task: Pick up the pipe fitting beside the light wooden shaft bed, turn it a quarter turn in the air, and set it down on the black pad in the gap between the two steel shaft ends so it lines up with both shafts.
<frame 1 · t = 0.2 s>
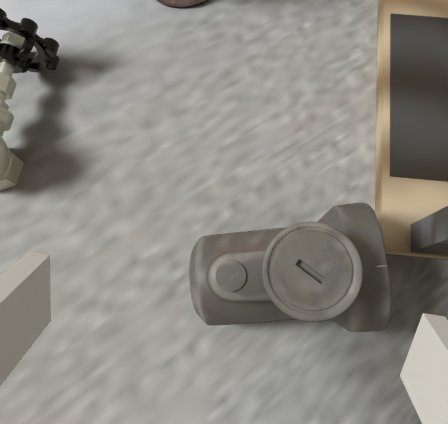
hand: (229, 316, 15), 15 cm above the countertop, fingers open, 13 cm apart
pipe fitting: (277, 277, 31), on the countertop
valve: (16, 127, 34), on the countertop
shaft bed: (439, 106, 33), on the countertop
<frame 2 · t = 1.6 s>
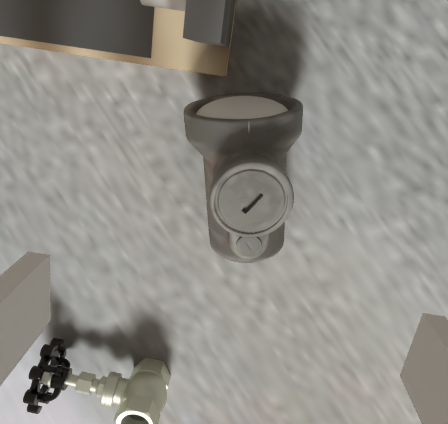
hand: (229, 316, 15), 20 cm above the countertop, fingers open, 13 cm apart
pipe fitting: (245, 168, 34), on the countertop
valve: (115, 361, 42), on the countertop
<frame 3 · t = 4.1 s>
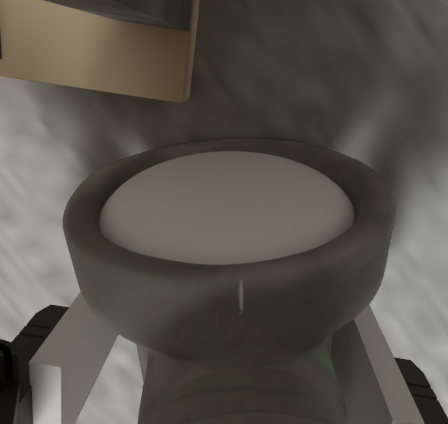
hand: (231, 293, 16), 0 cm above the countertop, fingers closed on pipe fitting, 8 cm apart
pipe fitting: (236, 285, 17), on the countertop, touching gripper
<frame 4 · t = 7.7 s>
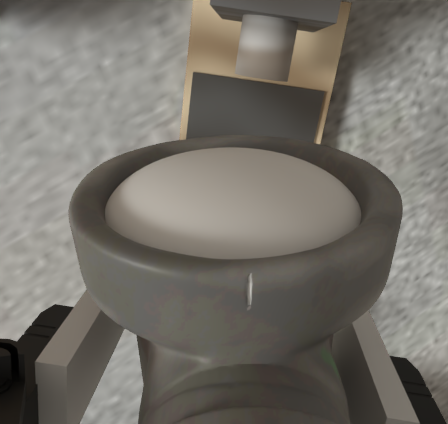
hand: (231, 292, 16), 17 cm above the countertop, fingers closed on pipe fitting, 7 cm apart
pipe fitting: (237, 283, 16), point 17 cm above the countertop, touching gripper
shaft bed: (243, 174, 32), on the countertop
when the fingers open (3 cm above the countertop, at t = 10.7 s): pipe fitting drops 1 cm, resting on shaft bed.
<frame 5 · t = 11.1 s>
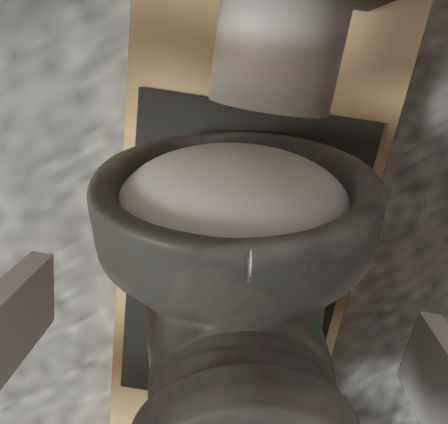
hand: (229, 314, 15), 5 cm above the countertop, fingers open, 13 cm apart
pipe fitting: (235, 271, 18), point 1 cm above the countertop, touching shaft bed
shaft bed: (235, 256, 19), on the countertop
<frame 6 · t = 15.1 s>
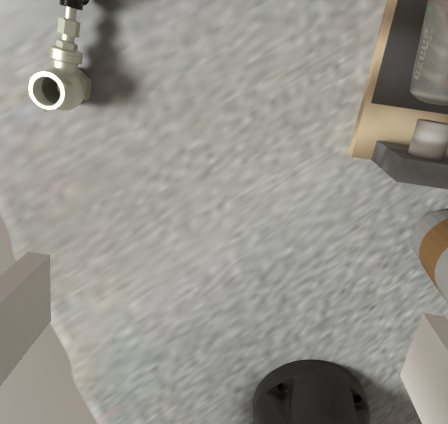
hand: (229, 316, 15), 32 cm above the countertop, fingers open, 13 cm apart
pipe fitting: (440, 32, 38), point 1 cm above the countertop, touching shaft bed
coffee cup: (437, 233, 47), on the countertop
valve: (81, 47, 42), on the countertop
shaft bed: (433, 33, 39), on the countertop
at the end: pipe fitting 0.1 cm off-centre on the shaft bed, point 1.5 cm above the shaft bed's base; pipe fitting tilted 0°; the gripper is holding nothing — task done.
